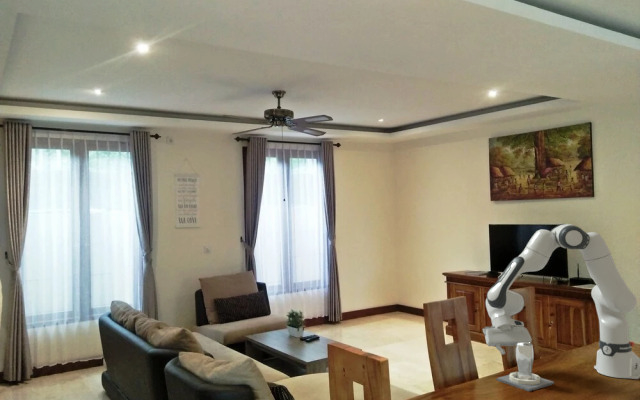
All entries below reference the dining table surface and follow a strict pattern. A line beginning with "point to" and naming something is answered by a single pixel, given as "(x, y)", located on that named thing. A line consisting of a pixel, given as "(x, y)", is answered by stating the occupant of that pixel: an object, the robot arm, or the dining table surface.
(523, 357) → the beer glass
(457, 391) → the dining table surface
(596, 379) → the dining table surface
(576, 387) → the dining table surface
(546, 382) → the slate tile
